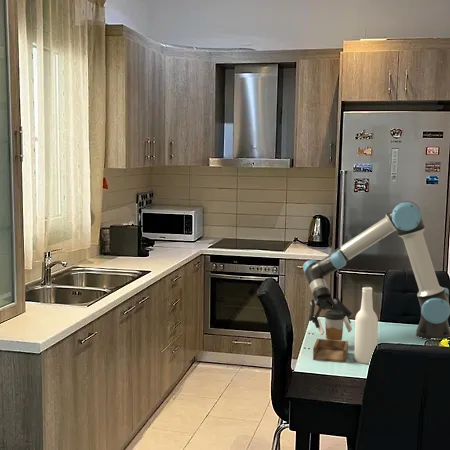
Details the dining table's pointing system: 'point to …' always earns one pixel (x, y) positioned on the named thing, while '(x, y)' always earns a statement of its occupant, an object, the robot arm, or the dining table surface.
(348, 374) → the dining table surface
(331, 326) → the coffee cup
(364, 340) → the white bottle
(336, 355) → the cup holder
